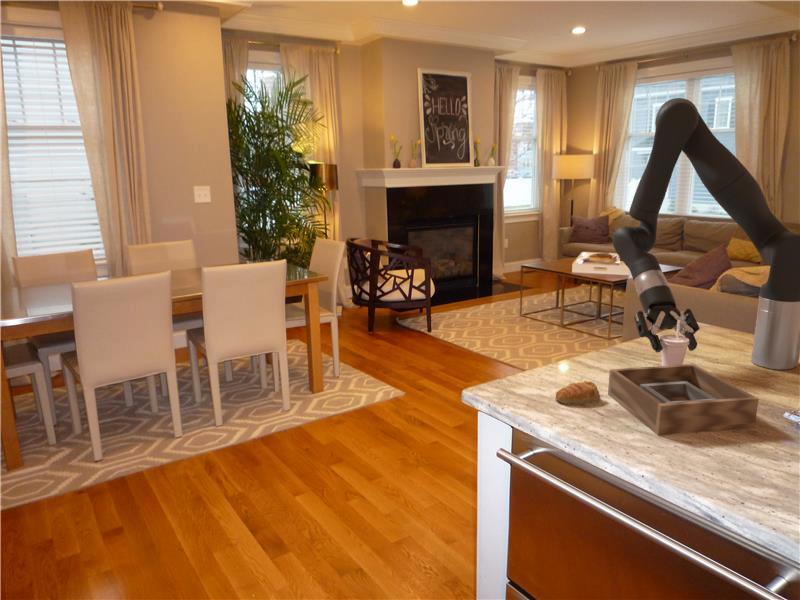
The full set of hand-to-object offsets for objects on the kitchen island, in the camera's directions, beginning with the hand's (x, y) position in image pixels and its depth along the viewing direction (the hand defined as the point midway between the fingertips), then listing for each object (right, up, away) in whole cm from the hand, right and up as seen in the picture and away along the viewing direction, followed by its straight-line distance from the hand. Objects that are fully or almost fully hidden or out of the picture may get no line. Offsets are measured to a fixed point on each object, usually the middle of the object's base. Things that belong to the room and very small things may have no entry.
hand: (676, 350), depth 137 cm
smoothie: (0, -7, +3) cm, 7 cm away
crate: (-8, -11, -16) cm, 21 cm away
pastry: (-26, -10, -9) cm, 30 cm away
